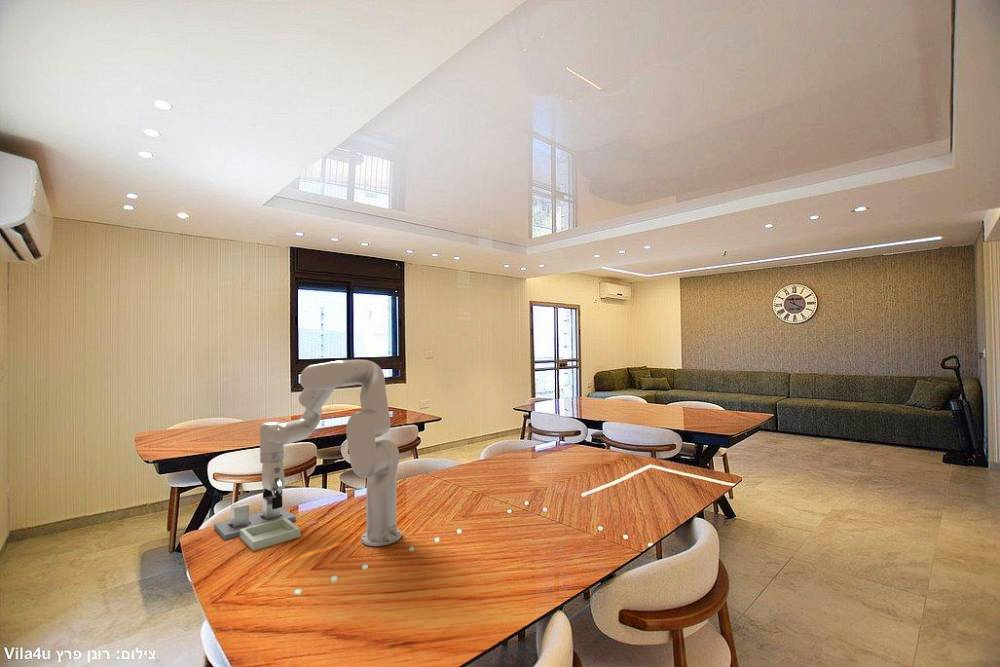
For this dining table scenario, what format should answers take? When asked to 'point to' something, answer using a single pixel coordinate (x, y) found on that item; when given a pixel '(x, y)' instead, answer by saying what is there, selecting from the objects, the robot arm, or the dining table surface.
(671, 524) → the dining table surface
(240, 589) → the dining table surface
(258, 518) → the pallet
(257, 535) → the tray
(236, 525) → the block
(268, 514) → the block
